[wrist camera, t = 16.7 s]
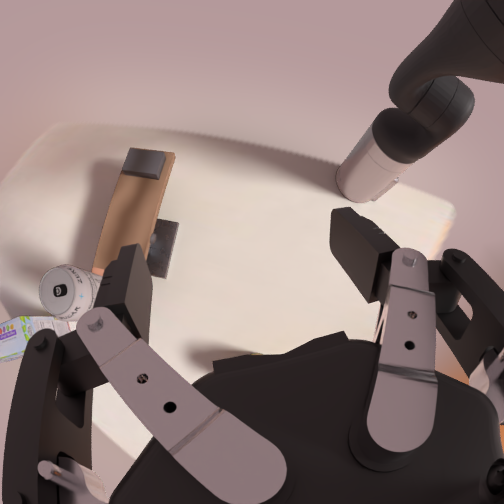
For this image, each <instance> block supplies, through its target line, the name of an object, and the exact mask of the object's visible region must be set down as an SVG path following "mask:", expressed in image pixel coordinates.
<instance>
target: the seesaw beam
mask: <svg viewBox="0 0 504 504" xmlns="http://www.w3.org/2000/svg"><path fill="white" fill-rule="evenodd" d="M175 158H176V157H175V154H174V153H172V152H164V151H156V150H148V149H139V148H130V150H129V152H128V155H127V157H126V160H125V162H124V165H123V168H122V171H121V174H120V176H119V179H118V182H117V185H116V188H115V191H114V194H113V197H112V200H111V203H110V206H109V209H108V212H107V215H106V219H105V222H104V225H103V227H102V232H101V236H100V240H99V243H98V247H97V251H96V255H95V259H94V263H93V267H92V272H91V273H94V274H97V275H100V276H103V273H104V270H105V268H106V267H107V266H108V265H109V264H110V262H111V261H113V260H117V258H118V255H119V252H120V249H121V247H122V246H126V245H131V244H136V243H139V244H140V245H141V248H142V251H143V254H144V257H145V260H146V259H147V255H148V251H149V247H150V244H155V242H156V234H154V233H153V231H154V228H155V224H156V220H157V217H158V213H159V210H160V206H161V203H162V199H163V196H164V192H165V189H166V186H167V183H168V179H169V176H170V173H171V170H172V167H173V164H174V161H175Z"/></svg>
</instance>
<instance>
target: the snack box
mask: <svg viewBox="0 0 504 504" xmlns="http://www.w3.org/2000/svg"><path fill="white" fill-rule="evenodd" d="M45 328H50V329H52V330H54V331H55V332H56V334H57V335H58V337H60V336H62V335H65V334H67V333H69V332H70V329H69V325H68V322H67V321H60V320H58V319H56V318H55V317H53V316H18V317H16V318H13V319H11V320H9V321H6V322H4V323H1V324H0V363H2V362H7V361H11V360H15V359H18V358H22V357H23V355H24V352H25V348H26V345H27V342H28V341H29V339H30V338H31V337H32V335H34V334H35V333H36V332H37V331H39V330H41V329H45Z"/></svg>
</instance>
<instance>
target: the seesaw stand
mask: <svg viewBox="0 0 504 504" xmlns="http://www.w3.org/2000/svg"><path fill="white" fill-rule="evenodd" d="M178 226H179V223H178V222H173V221H167V220H162V219H157V220H156V224H155V228H154V231H153V233H154V234H156V242H155V244H150V247H149V251H148V255H147V259H146V263H147V266H148V268H149V271H150V274H151V276H155V277H160V278H164V279H166V277H167V273H168V268H169V264H170V259H171V255H172V251H173V247H174V243H175V238H176V234H177V230H178Z"/></svg>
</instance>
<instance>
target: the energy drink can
mask: <svg viewBox="0 0 504 504" xmlns="http://www.w3.org/2000/svg"><path fill="white" fill-rule="evenodd" d="M101 279H102V276H100V275H97V274H94V273H91V272H88V271H86V270H83V269H80V268H77V267H74V266H71V265H67V264H64V265H60V266H57V267H56V268H52V269H50V270H49V271H47V272H46V273H45V274H44V276H43V277H42V280H41V282H40V286H39V297H40V301H41V304H42V305H43V307H44V308H45V310H46V311H47V312H49V313H50V314H51V315H52V316H53V317H55V318H56V319H58V320H60V321H78V320H79V319H80V317H81V316H82V315H83V314H84V313H86V312H87V311H89V310H91V309H93V306H94V302H95V299H96V296H97V292H98V289H99V287H100V283H101Z"/></svg>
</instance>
